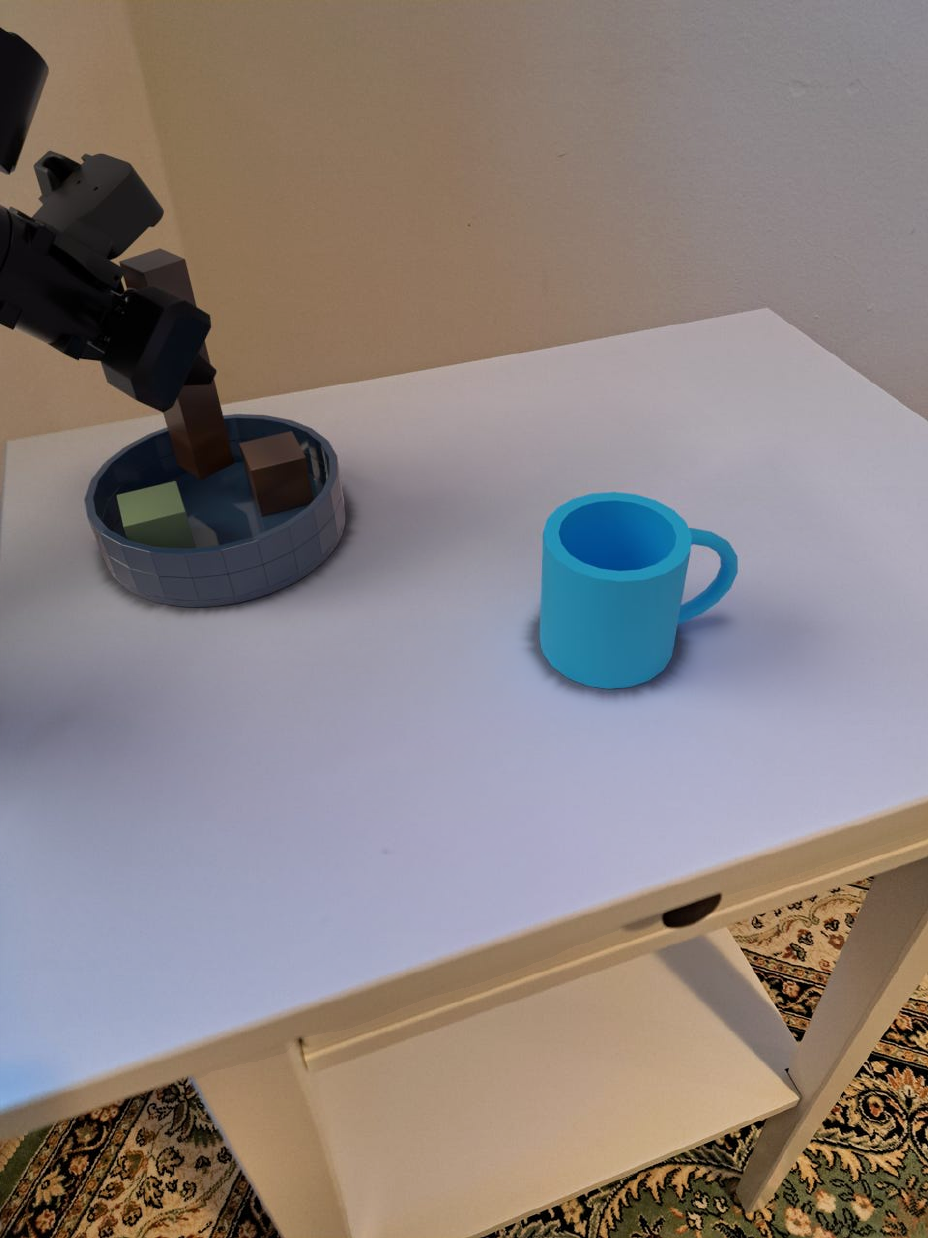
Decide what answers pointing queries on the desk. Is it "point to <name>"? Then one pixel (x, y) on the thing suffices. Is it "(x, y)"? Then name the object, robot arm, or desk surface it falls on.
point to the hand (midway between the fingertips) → (199, 369)
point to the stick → (196, 406)
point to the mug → (620, 587)
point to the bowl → (218, 520)
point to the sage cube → (156, 517)
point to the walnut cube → (276, 473)
